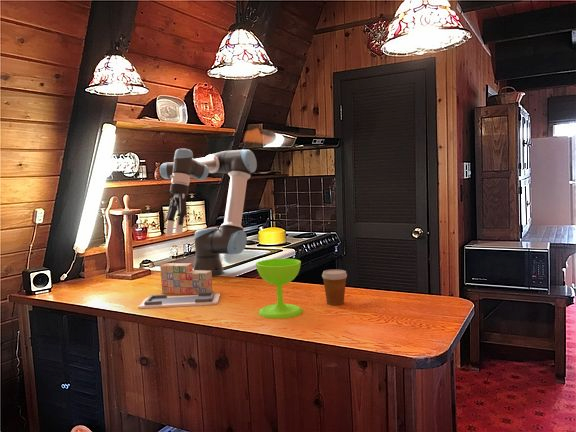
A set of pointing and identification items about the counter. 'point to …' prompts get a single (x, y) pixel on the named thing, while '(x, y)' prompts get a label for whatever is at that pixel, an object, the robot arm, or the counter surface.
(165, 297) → the blueprint board
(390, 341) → the counter surface
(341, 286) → the disposable coffee cup
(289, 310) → the wineglass
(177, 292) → the stack of blocks
